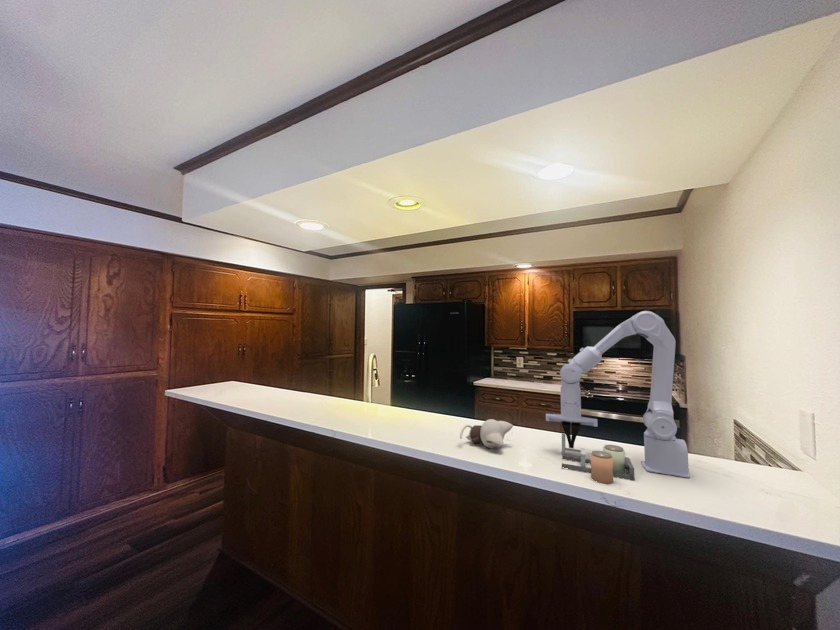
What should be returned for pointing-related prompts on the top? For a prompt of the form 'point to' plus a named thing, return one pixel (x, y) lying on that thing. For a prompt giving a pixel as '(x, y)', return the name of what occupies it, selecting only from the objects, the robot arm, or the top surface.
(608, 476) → the jar
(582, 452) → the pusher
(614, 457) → the jar
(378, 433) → the top surface
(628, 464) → the lane
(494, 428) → the toy
